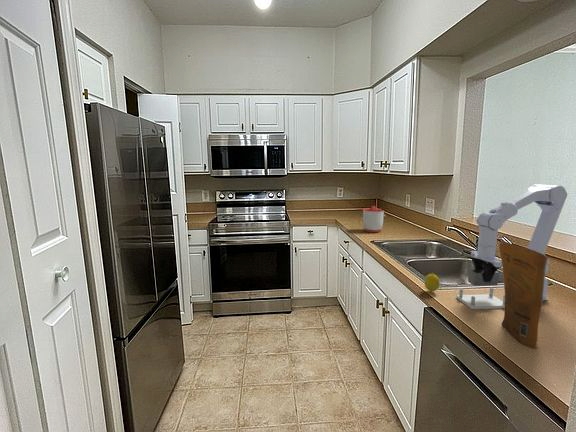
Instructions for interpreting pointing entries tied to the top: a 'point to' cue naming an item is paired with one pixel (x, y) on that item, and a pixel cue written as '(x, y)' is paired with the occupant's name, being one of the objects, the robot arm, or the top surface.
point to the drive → (481, 278)
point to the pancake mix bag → (522, 291)
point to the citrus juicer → (373, 219)
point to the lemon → (432, 282)
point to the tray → (481, 300)
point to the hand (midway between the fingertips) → (483, 279)
